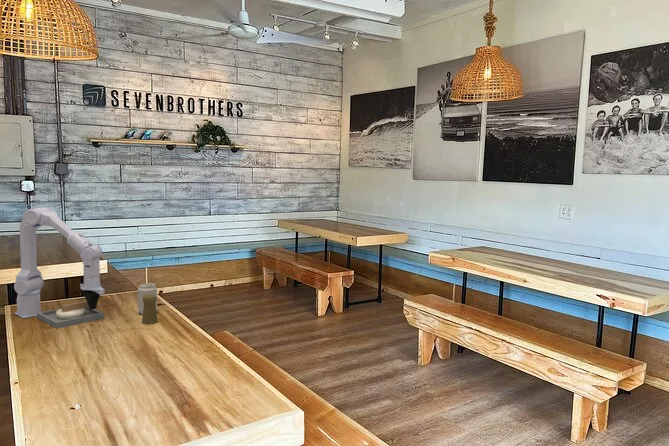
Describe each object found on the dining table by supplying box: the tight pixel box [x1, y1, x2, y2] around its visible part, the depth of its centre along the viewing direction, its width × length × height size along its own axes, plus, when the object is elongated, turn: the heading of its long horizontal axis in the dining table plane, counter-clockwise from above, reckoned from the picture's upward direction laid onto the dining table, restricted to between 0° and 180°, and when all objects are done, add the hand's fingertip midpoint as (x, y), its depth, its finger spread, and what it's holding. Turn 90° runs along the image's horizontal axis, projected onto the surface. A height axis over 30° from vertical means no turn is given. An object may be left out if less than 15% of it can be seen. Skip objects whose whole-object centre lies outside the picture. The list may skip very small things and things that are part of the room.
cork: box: [141, 294, 159, 325], centre depth 197 cm, size 6×6×11 cm
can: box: [137, 282, 158, 315], centre depth 209 cm, size 8×8×12 cm
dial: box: [56, 300, 89, 319], centre depth 200 cm, size 10×13×4 cm
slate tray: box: [36, 307, 105, 329], centre depth 199 cm, size 18×18×2 cm
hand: (92, 309), depth 200 cm, fingers closed
